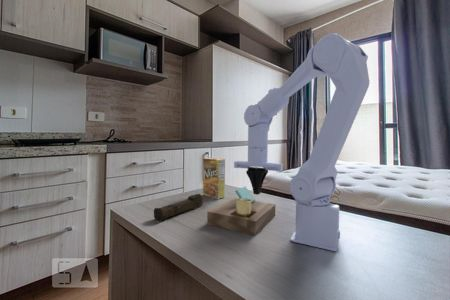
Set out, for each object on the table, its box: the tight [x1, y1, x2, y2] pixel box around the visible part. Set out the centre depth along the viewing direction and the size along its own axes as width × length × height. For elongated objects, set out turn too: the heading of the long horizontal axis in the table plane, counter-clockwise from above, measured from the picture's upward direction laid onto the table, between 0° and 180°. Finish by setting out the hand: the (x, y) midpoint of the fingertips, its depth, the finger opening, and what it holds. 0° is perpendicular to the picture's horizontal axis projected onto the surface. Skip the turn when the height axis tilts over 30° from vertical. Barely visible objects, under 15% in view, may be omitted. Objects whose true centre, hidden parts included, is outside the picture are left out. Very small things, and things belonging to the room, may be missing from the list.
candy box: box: [202, 157, 226, 200], centre depth 88 cm, size 9×4×15 cm, turn 49°
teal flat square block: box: [235, 185, 256, 203], centre depth 67 cm, size 6×6×1 cm
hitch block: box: [206, 197, 276, 236], centre depth 64 cm, size 14×16×4 cm
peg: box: [236, 197, 251, 218], centre depth 59 cm, size 4×4×7 cm
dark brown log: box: [153, 193, 204, 222], centre depth 70 cm, size 19×4×5 cm, turn 141°
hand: (256, 193), depth 66 cm, fingers closed
